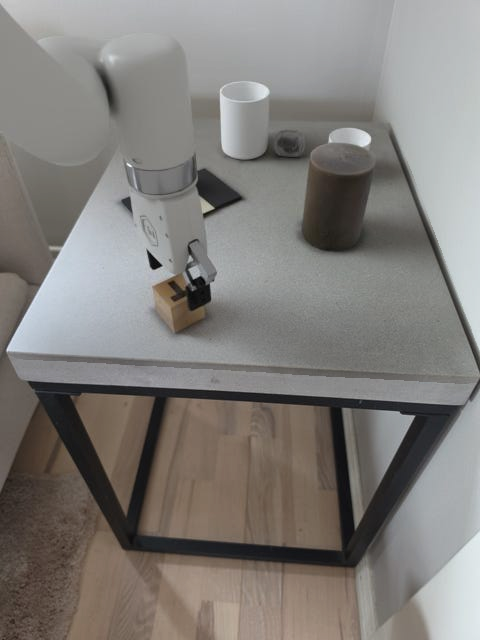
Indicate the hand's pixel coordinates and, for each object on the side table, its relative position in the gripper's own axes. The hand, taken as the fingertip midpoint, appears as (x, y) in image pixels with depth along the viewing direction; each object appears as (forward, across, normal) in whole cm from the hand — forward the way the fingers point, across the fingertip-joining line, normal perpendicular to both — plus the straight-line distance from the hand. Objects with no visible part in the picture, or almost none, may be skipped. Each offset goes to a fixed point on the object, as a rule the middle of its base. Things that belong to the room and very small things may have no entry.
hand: (179, 284), depth 64 cm
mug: (+6, -33, +36) cm, 49 cm away
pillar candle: (+6, -1, +30) cm, 30 cm away
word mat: (+6, -24, +14) cm, 29 cm away
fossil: (+6, -25, +40) cm, 48 cm away
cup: (+7, -13, +44) cm, 47 cm away
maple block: (+6, 0, 0) cm, 6 cm away
